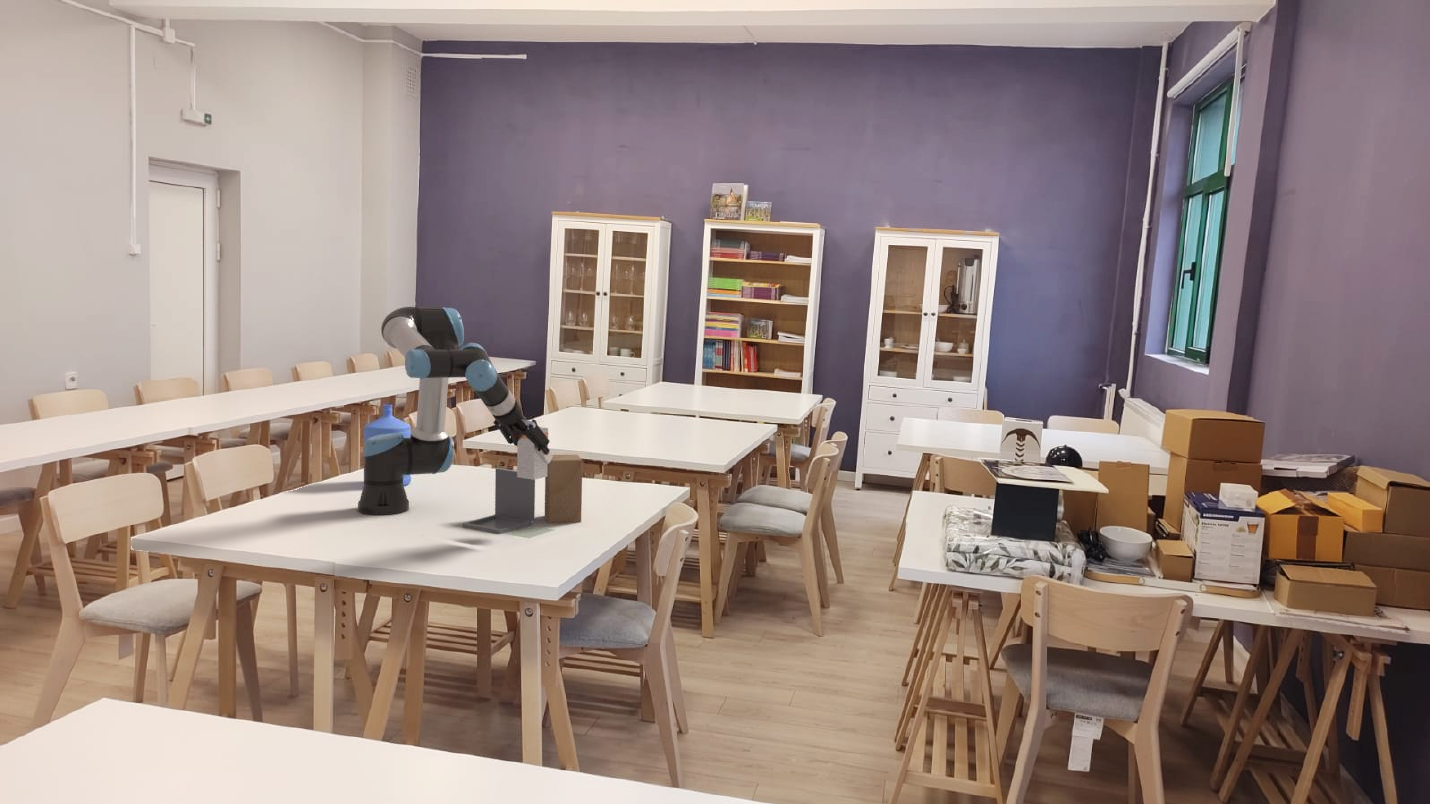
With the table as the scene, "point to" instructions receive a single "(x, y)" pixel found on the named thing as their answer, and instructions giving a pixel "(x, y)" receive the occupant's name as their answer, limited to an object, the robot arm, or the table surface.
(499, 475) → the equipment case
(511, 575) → the table surface
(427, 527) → the table surface
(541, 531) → the sage board
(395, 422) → the water jug
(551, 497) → the wooden block
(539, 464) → the block
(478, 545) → the table surface
